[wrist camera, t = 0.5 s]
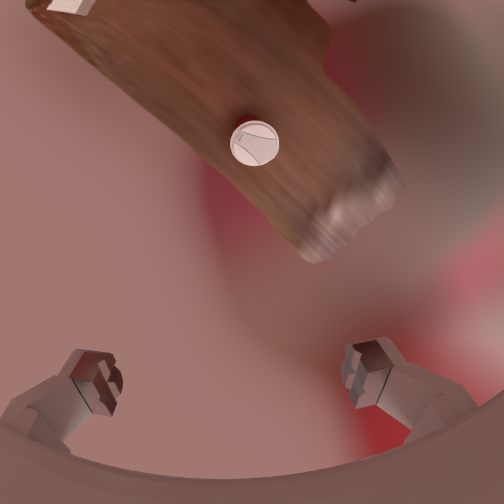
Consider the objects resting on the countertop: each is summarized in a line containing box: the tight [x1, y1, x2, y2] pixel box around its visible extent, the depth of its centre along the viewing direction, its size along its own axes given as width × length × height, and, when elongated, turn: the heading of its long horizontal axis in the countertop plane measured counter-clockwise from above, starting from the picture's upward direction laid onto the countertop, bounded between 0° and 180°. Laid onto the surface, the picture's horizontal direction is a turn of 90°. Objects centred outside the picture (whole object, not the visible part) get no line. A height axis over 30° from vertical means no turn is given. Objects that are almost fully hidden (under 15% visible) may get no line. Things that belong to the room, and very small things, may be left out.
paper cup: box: [230, 116, 279, 166], centre depth 45 cm, size 8×8×14 cm
